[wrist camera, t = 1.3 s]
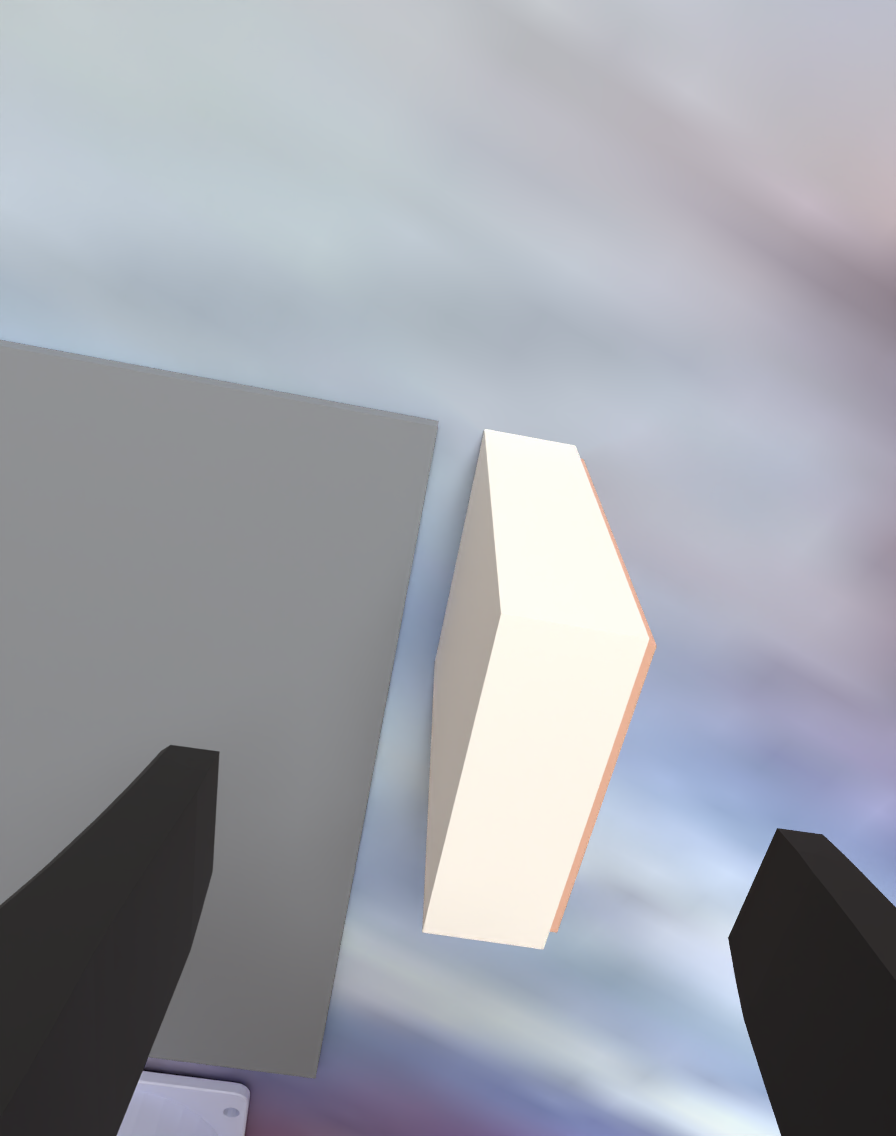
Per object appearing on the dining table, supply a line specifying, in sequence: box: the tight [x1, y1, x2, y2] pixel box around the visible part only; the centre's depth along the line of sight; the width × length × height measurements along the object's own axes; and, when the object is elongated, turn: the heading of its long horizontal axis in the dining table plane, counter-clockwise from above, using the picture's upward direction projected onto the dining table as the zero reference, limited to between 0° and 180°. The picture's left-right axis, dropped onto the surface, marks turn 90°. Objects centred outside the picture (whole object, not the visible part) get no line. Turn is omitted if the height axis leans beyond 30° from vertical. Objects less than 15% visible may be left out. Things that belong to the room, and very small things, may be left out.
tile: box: [422, 429, 656, 949], centre depth 16 cm, size 6×2×8 cm, turn 169°
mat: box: [0, 340, 438, 1078], centre depth 22 cm, size 22×14×1 cm, turn 169°
